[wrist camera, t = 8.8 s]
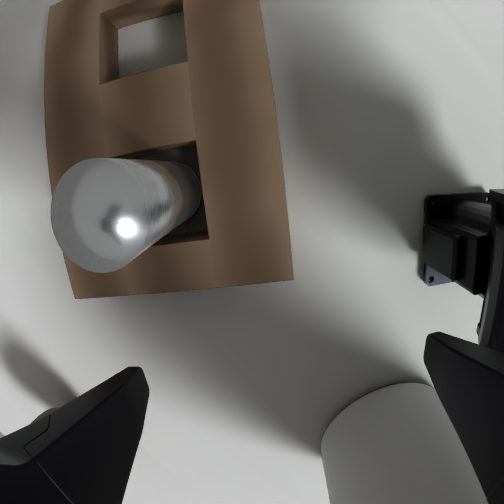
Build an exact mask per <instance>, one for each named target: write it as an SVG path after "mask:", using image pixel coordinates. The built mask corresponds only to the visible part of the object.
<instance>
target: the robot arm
mask: <svg viewBox="0 0 504 504" xmlns="http://www.w3.org/2000/svg"><path fill="white" fill-rule="evenodd" d="M486 198H488V199H487V201H486ZM431 199H432V200H433V204H432V205H430V200H431ZM424 214H425V225H424V227H423V259H422V260H423V262H424V272H423V281H424V283H425V284H427V285H428V286H433V285H439V284H444V283H449V282H456V283H457V284H459V285H460V286H462V287H463V288H465V289H466V290H468V291H469V292H471V293H472V294H473V295H477V294H478V295H479V296H481V297H482V298H484V300H483V306H482V312H481V318H480V323H478V326H477V331H476V332H477V334H478V336H479V337H478V343H479V345H478V344H475V343H472V342H469V341H466V340H463V339H460V338H457V337H454V336H451V335H448V334H445V333H442V332H435V333H431V334H429V335H428V336H427V338H426V344H425V350H424V363H425V365H426V368H427V370H428V373H429V375H430V378H431V380H432V383H433V385H434V388H435V390H436V393H437V395H438V397H439V399H440V401H441V403H442V405H443V407H444V409H445V411H446V413H447V415H448V417H449V419H450V421H451V423H452V425H453V427H454V429H455V431H456V433H457V435H458V437H459V439H460V441H461V443H462V445H463V447H464V449H465V451H466V453H467V456H468V458H469V460H470V462H471V464H472V466H473V469H474V471H475V473H476V475H477V478H478V480H479V482H480V485H481V487H482V489H483V492H484V494H485V497H486V500H487V502H488V504H504V189H490V190H489V193H487V192H476V193H452V194H433V195H427V196H426V198H425V200H424ZM429 277H432V278H431V280H430V281H428V279H429ZM148 398H149V386H148V383H147V381H146V378H145V375H144V372H143V370H142V368H140V367H127V368H126V369H124V370H122V371H121V372H119V373H117V374H116V375H114V376H112V377H111V378H109V379H107V380H106V381H104V382H102V383H101V384H99V385H97V386H96V387H94V388H92V389H91V390H89V391H87V392H86V393H84V394H82V395H81V396H79V397H77V398H75V399H74V400H72V401H70V402H69V403H67V404H65V405H64V406H62V407H60V408H58V409H57V410H55V411H53V412H51V414H48V415H46V416H44V417H43V418H41V419H39V420H37V421H35V422H33V423H32V424H30V425H28V426H26V427H24V428H21V429H19V430H17V431H15V432H13V433H11V434H8V435H6V436H4V437H2V438H0V504H122V501H123V497H124V493H125V490H126V486H127V483H128V479H129V476H130V472H131V469H132V465H133V462H134V458H135V455H136V451H137V448H138V445H139V441H140V438H141V435H142V431H143V426H144V420H145V414H146V409H147V404H148Z"/></svg>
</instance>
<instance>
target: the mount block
mask: <svg viewBox="0 0 504 504" xmlns="http://www.w3.org/2000/svg"><path fill="white" fill-rule="evenodd" d="M181 11H184V25H185V37H186V49H187V60H188V62H183V63H178V64H173V65H169V66H164V67H160V68H156V69H152V70H148V71H144V72H140V73H137V74H133V75H130V76H126V77H123V78H119V71H118V29H119V28H122V27H125V26H128V25H132V24H135V23H138V22H142V21H145V20H149V19H152V18H156V17H160V16H164V15H168V14H172V13H177V12H181ZM44 106H45V131H46V145H47V157H48V167H49V175H50V183H51V190H52V197H53V194H54V191H55V189H56V186H57V184H58V182H59V181H60V179H61V178H62V176H63V175H64V174H65V173H66V172H67V171H68V170H69V169H70V168H71V167H72V166H74V165H75V164H77V163H79V162H81V161H84V160H86V159H91V158H114V159H129V158H134V157H139V156H143V155H148V154H153V153H158V152H163V151H168V150H174V149H179V148H185V147H191V146H197V152H198V160H199V168H200V176H201V183H202V191H203V198H204V205H205V212H206V219H207V226H208V230H205V231H197V232H189V233H181V234H174V235H166V236H164V237H162V238H161V239H159V240H158V241H157V242H156V243H154V244H153V245H152V246H150V247H149V248H148V249H146V250H145V251H144V252H142V253H141V254H140V255H138V256H137V257H136V258H135V259H133V260H132V261H131V262H129V263H128V264H127V265H125V266H124V267H122V268H120V269H118V270H116V271H113V272H108V273H96V272H91V271H88V270H85V269H83V268H81V267H79V266H78V265H76V264H75V263H74V262H72V261H71V260H70V259H69V258H68V257H67V256H66V254H65V253H64V252H63V255H64V259H65V263H66V267H67V271H68V275H69V279H70V282H71V286H72V290H73V293H74V297H75V299H83V298H99V297H113V296H127V295H140V294H153V293H165V292H177V291H188V290H200V289H210V288H221V287H231V286H241V285H250V284H260V283H269V282H278V281H287V280H294V278H293V266H292V255H291V244H290V233H289V223H288V213H287V203H286V194H285V184H284V175H283V167H282V158H281V150H280V141H279V133H278V125H277V118H276V110H275V103H274V95H273V88H272V81H271V74H270V67H269V61H268V54H267V48H266V41H265V35H264V29H263V23H262V17H261V11H260V5H259V0H63V1H61V2H59V3H57V4H55V5H53V6H51V7H50V12H49V20H48V29H47V40H46V53H45V77H44Z"/></svg>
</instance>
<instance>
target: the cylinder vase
mask: <svg viewBox="0 0 504 504" xmlns="http://www.w3.org/2000/svg"><path fill="white" fill-rule="evenodd" d="M321 456H322V461H323V466H324V472H325V477H326V482H327V488H328V494H329V499H330V504H488V502H487V500H486V497H485V494H484V492H483V489H482V487H481V485H480V482H479V480H478V478H477V475H476V473H475V471H474V469H473V466H472V464H471V462H470V460H469V458H468V456H467V453H466V451H465V449H464V447H463V445H462V443H461V441H460V439H459V437H458V435H457V433H456V431H455V429H454V427H453V425H452V423H451V421H450V419H449V417H448V415H447V413H446V411H445V409H444V407H443V405H442V403H441V401H440V399H439V397H438V395H437V393H436V390H435V389H434V388H432V387H430V386H427V385H425V384H420V383H401V384H395V385H391V386H387V387H384V388H381V389H378V390H376V391H373V392H371V393H369V394H367V395H365V396H363V397H361V398H360V399H358V400H356V401H355V402H353V403H352V404H350V405H349V406H348V407H346V408H345V409H344V410H343V411H342V412H340V413H339V414H338V415H337V416H336V417H335V418H334V420H333V421H332V422H331V423H330V425H329V426H328V428H327V429H326V431H325V433H324V435H323V438H322V441H321Z"/></svg>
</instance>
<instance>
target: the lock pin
mask: <svg viewBox="0 0 504 504" xmlns="http://www.w3.org/2000/svg"><path fill="white" fill-rule="evenodd" d="M200 200H201V186H200V182H199V179H198V177H197V176H196V174H195V173H194V172H193V171H192V170H191V169H190V168H189V167H188V166H186V165H184V164H182V163H179V162H172V161H157V160H139V159H114V158H91V159H86V160H84V161H81V162H79V163H77V164H75V165H74V166H72V167H71V168H70V169H69V170H68V171H67V172H66V173H65V174H64V175H63V176H62V178H61V179H60V181H59V182H58V184H57V186H56V189H55V191H54V194H53V198H52V203H51V222H52V228H53V232H54V235H55V237H56V240H57V242H58V244H59V246H60V247H61V249H62V251H63V252H64V253H65V254H66V256H67V257H68V258H69V259H70V260H71V261H72V262H74V263H75V264H76V265H78V266H79V267H81V268H83V269H85V270H88V271H91V272H96V273H108V272H113V271H116V270H118V269H120V268H122V267H124V266H125V265H127V264H128V263H129V262H131V261H132V260H133V259H135V258H136V257H137V256H138V255H140V254H141V253H142V252H144V251H145V250H146V249H148V248H149V247H150V246H152V245H153V244H154V243H156V242H157V241H158V240H159V239H161V238H162V237H164V236H165V235H166V234H168V233H169V232H170V231H172V230H173V229H174V228H176V227H177V226H178V225H180V224H181V223H182V222H184V221H185V220H187V219H188V218H189V217H191V216H192V215H193V214H194V212H195V211H196V209H197V208H198V206H199V203H200Z"/></svg>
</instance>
